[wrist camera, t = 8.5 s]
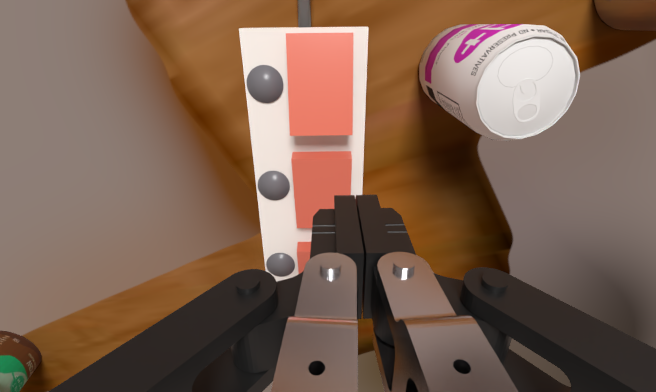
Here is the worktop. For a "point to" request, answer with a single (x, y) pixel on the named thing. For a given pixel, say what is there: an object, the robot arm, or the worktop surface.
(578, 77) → the supplement can
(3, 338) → the food container
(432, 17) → the worktop surface
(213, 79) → the worktop surface
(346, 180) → the rocker middle
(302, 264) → the rocker
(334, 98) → the rocker
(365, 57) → the power strip
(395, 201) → the worktop surface
